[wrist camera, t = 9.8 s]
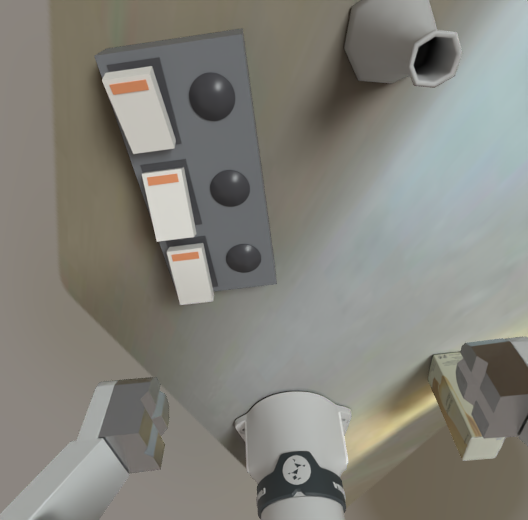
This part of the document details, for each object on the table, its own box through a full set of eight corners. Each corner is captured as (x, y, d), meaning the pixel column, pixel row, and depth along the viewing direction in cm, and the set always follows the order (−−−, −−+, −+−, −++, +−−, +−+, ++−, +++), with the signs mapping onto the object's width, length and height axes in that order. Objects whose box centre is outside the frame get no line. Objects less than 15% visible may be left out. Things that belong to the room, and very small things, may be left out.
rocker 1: (175, 140, 32) (174, 149, 32) (135, 145, 33) (133, 154, 32) (151, 66, 28) (149, 74, 27) (105, 72, 28) (101, 81, 27)
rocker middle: (196, 233, 36) (194, 237, 35) (160, 238, 36) (156, 241, 35) (183, 167, 34) (180, 168, 33) (145, 172, 34) (141, 173, 33)
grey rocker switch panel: (275, 267, 45) (276, 287, 42) (181, 278, 46) (176, 299, 43) (242, 28, 31) (242, 35, 28) (106, 48, 31) (91, 57, 28)
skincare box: (432, 353, 56) (471, 436, 46) (463, 350, 55) (509, 432, 46) (426, 381, 59) (461, 463, 50) (455, 378, 59) (496, 459, 49)
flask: (348, 93, 34) (378, 132, 26) (338, -5, 30) (370, 7, 22) (433, 72, 33) (491, 106, 25) (435, -32, 29) (506, -31, 21)
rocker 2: (214, 295, 41) (212, 301, 40) (182, 299, 41) (180, 305, 40) (203, 242, 39) (201, 248, 38) (169, 247, 39) (166, 252, 38)
